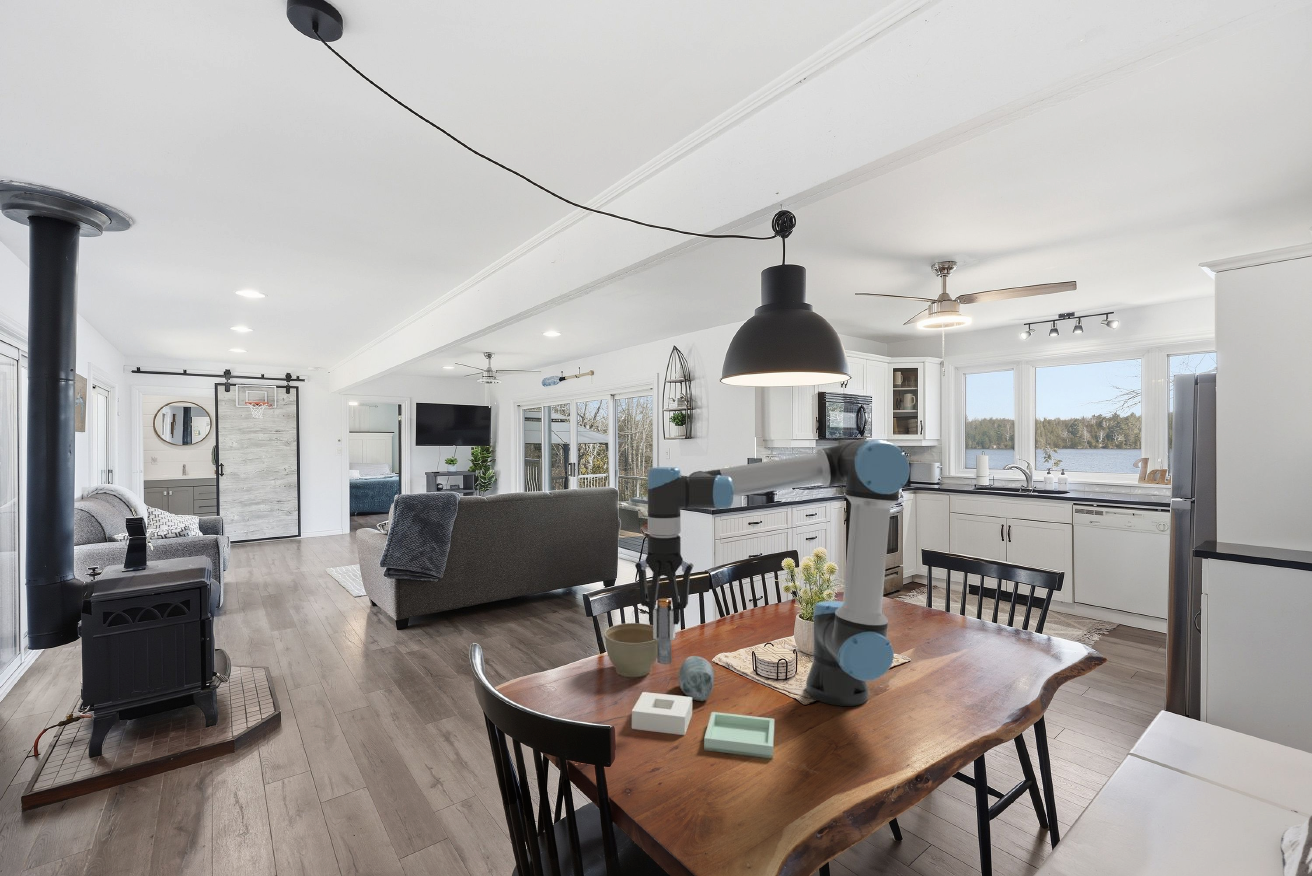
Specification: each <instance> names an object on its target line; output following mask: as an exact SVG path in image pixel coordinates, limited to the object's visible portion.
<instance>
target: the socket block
mask: <svg viewBox="0 0 1312 876" xmlns="http://www.w3.org/2000/svg"><path fill="white" fill-rule="evenodd" d="M692 717H693V699H692V697H689V696H683V695H676V694H665V693H656V692H646V691H642V693H641V694H640V696H639V697H638V700H637V701H636V702H635V704H634V706H633V707H632V710H631V729H632V730H638V731H648V732H656V733H662V734H663V733H664V734H670V735H671V734H673V735H679V736H680V735H681V736H686V733H687V730H688V727H689V725H690V721H691V719H692Z"/></svg>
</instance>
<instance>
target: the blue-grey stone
mask: <svg viewBox="0 0 1312 876" xmlns="http://www.w3.org/2000/svg"><path fill="white" fill-rule="evenodd" d="M679 668H680V669H679V672H678V678H677V679H678V686H679V688H680V689H681V691H682V692H683V693H684V694H685V695H686V696H687V697H692V700H695V701H700V702H703V701H706V700H707V699H708V698H709V697H710V695H711V694H712V690H713V688H714V683H715V682H714V679H715V672H714V667H713V666H712V664H711V663H710V662H709V661H708V660H707V659H705V658H704V657H702V656H699V655H691V656H689V657H687V658H685V660H683V662H682V664H681V666H680V667H679Z"/></svg>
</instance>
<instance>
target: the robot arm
mask: <svg viewBox="0 0 1312 876" xmlns="http://www.w3.org/2000/svg"><path fill="white" fill-rule="evenodd" d="M910 470H911V467H910V462H909V459H908V457H907V455H906V454H905V451H903V450H902V449H901V448H900V447H899V446H897V445H895V444H894V443H892V442H888V441H885V440H882V439H881V440H880V439H876V440H875V439H872V440H869V439H868V440H865V439H863V440H862V439H859V440H858V439H857V440H852V441H848V442H844V443H840V444H837V445H832V446H828V447H824V448H818V449H817V451H815V453H811V454H805V455H799V456H793V457H787V458H781V459H780V458H779V459H774V460H773V459H772V460H768V461H762V462H755V463H749V464H748V463H747V464H744V465H743V464H742V465H736V466H735V465H734V466H729V467H724V468H719V469H711V470H705V471H702V470H697V471H694V472H692V473H690V474H689V475H682V472H681V469H680V468H679V467H676V466H674V467H673V466H658V467H652V468H650V469H649V470H648V474H647V489H646V490H647V533H648V534H649V535H648V536H647V555H646V557H645V559H643V560H639V561H638V562H636V563H635V565H634V566H635V570H636V571H637V575H638V584H639V586H638V587H639V598H640V605H641V606H642V607H645V608H647V609H648V621H649V623H651V624H652V626H653V639H657V600H658V594H659V586H660V580H661V577H663V576H664V577H667V581H668V586H669V592H670V600H671V606H672V607H671V610H670V640H671V641H673V640H674V639H675V638H676V625H679V623H680V621H681V618H680V617H681V616H680V615H681V610H683V609H686V607H687V606H688V604H689V593H690V579H691V572H692V571H693V568H694V564H693V563H692V562H686V561H684V560H683V557H682V554H681V545H682V544H681V542H682V541H681V539H682V538H681V536H680V535H679V534H681V529H682V528H681V523H682V522H681V510H682V509H684V510H686V509H687V510H688V509H702V510H703V509H710V510H711V509H713V510H714V509H715V510H720V509H730V508H731V507H732V505H733V502H734V498H735V497H740V496H748V495H754V494H761V493H765V492H766V493H768V492H774V491H780V490H785V489H793V488H798V487H799V488H800V487H805V486H806V487H807V486H812V485H816V484H817V485H818V484H820V485H822V486H823V487H829V486H845V493H844V494H845V497H846V499H848V501H849V502H850V516H849V527H848V528H849V529H848V540H847V552H846V564H845V575H844V576H845V577H844V585H843V588H844V589H843V597H842V598H843V599H842V601H839V600H825V601H824V600H823V601H820V602H817V603H816V604H815V605H814V608H813V615H812V617H813V661H812V664H811V667H810V669H809V672H808V675H807V677H806V684H805V686H806V688H805V689H806V692H807V694H808V695H809V696H810V697H811V696H812V698H813V699H814V700H817V701H819V702H822V703H824V704H829V705H833V706H840V707H852V706H853V707H854V706H859V705H862V704H864V703H866V702H867V701H868V700H869V686H868V682H869V681H874V680H877V679H879V678H881V677H882V676H883V675H885V674H886V673H887V672H888V671H889V670H890V668H891V667H892V665H893V661H894V649H893V645H892V643H891V641H890V640H889V639H888V624H889V620H888V618H887V617H886V615H885V614H884V613H883V611H882V609H883V600H884V599H883V597H884V590H885V589H884V585H885V576H886V575H885V574H886V566H887V565H886V563H887V555H888V554H887V553H888V540H889V530H890V518H891V509H892V507H893V506H895V505H896V504H897V503H899V498H900V490H901V489H902V488H903V487H904V486H905V485H906V484H907V482H908V480H909V477H910V474H911V473H910V472H911V471H910ZM648 567H649V569H650V570H651V572H652V576H651V577H652V578H651V580H652V582H651V585H650V586H651V587H650V592H649V590H648V582H647V578H648V577H647V571H646V569H647V568H648ZM680 567H681V570H682V573H683V574H682V575H683V576H682V586H681V599H680V596H679V590H678V584H677V575H676V574H677V573H676V572H677V571H678V569H679V568H680ZM648 592H649V594H648Z"/></svg>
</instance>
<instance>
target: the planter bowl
mask: <svg viewBox="0 0 1312 876" xmlns="http://www.w3.org/2000/svg"><path fill="white" fill-rule="evenodd" d="M603 636H604V639H605V640H604V643H605V648H606V649H605V650H606V653H607V656H608V657H609V661H610V662H611V664H612V665H613V667H615V672H616V674H618V675H619V676H622V677H625V678H641V677H645V676H647V675H648V674H650V672H651V669H652V667H653V665H654V664H655V663H656V662H657V639H653V624H648V623H638V622H630V623H629V622H628V623H619V624H615V625H612V626H610V627H607V628H606V629H605V631H604V635H603Z"/></svg>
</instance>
